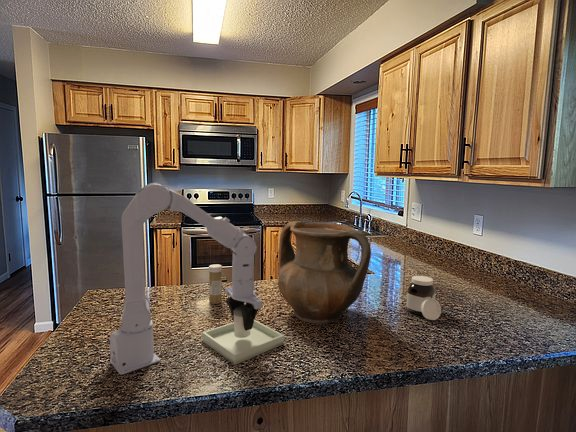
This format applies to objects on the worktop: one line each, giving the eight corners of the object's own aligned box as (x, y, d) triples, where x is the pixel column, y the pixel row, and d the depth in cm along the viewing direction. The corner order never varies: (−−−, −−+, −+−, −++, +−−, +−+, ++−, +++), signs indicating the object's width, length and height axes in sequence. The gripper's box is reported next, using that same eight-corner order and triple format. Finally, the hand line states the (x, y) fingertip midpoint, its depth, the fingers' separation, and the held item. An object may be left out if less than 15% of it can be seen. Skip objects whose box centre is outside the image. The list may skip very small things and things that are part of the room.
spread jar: (416, 304, 128) (418, 273, 127) (448, 313, 120) (450, 280, 119) (399, 313, 120) (401, 280, 118) (432, 324, 112) (435, 288, 110)
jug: (257, 322, 111) (257, 227, 107) (288, 293, 137) (289, 216, 133) (362, 340, 100) (367, 236, 96) (374, 305, 126) (378, 222, 122)
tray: (235, 364, 87) (234, 355, 86) (202, 340, 99) (202, 332, 98) (283, 344, 98) (284, 335, 97) (249, 324, 109) (249, 317, 109)
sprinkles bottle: (210, 299, 129) (209, 263, 128) (222, 299, 130) (222, 263, 128) (208, 304, 125) (207, 267, 123) (221, 304, 125) (221, 267, 124)
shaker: (241, 339, 94) (240, 314, 93) (231, 334, 97) (230, 309, 96) (253, 333, 98) (253, 309, 97) (243, 328, 101) (242, 305, 100)
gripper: (271, 281, 93) (271, 330, 95) (239, 269, 104) (239, 314, 105) (249, 287, 88) (249, 339, 90) (218, 274, 99) (219, 320, 101)
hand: (243, 326), depth 97 cm, fingers closed on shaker, 4 cm apart
